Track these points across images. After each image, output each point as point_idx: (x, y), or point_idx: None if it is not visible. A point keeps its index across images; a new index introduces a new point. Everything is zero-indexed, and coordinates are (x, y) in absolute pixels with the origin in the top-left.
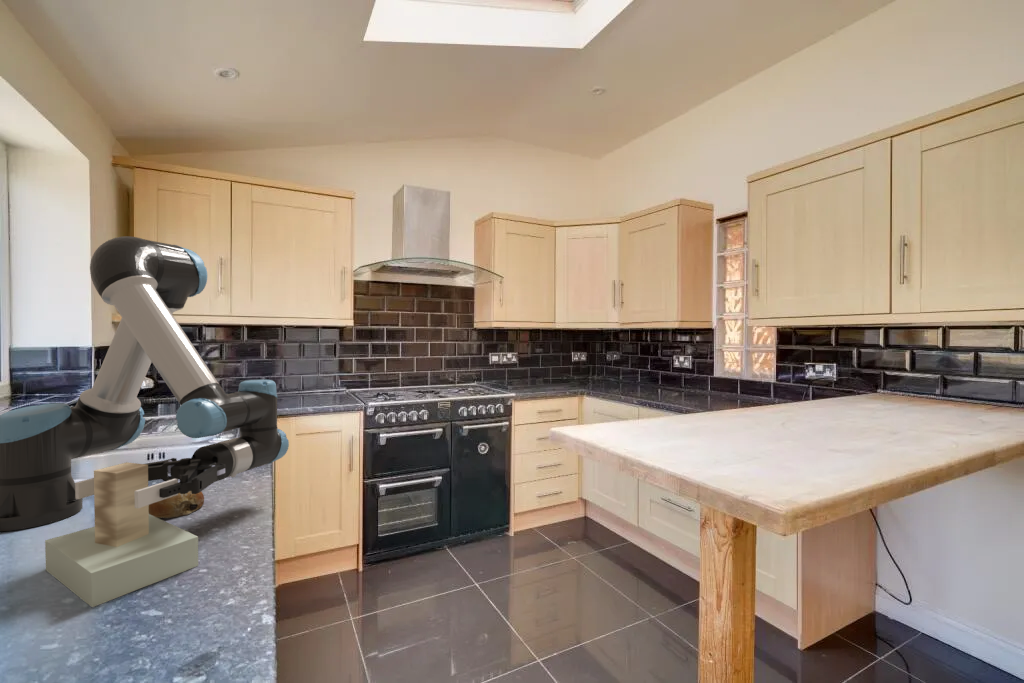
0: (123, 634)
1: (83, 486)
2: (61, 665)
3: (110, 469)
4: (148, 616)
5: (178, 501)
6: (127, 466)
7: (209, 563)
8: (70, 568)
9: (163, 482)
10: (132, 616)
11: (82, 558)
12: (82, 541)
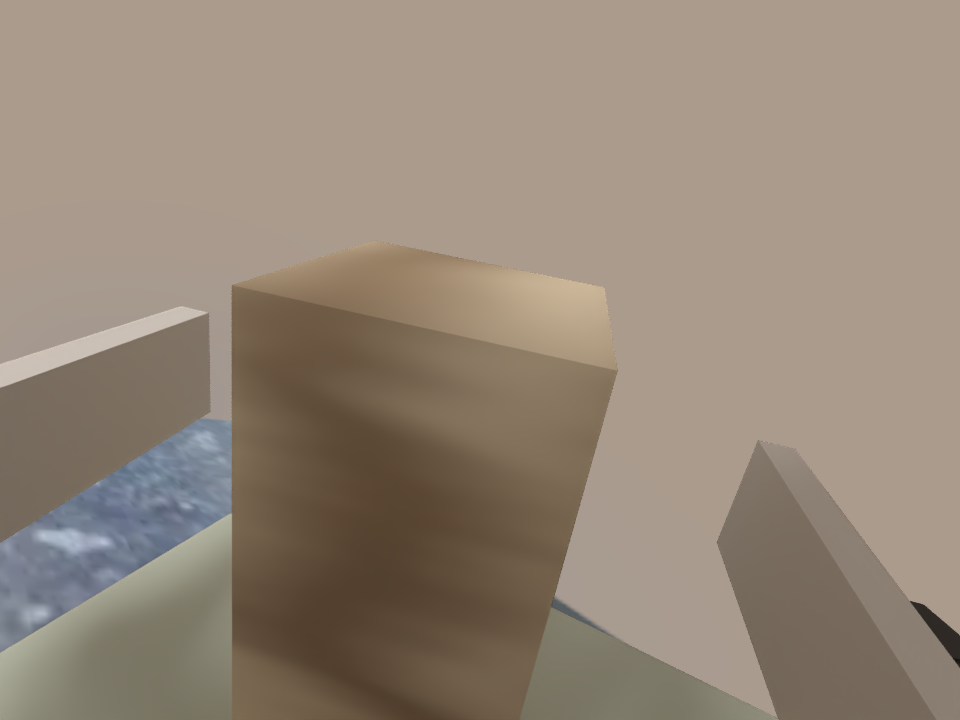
0: (129, 478)
1: (752, 487)
2: (219, 431)
3: (504, 278)
4: (81, 525)
5: None
6: (431, 290)
7: None
8: None
9: (18, 375)
10: (132, 529)
11: None
12: (587, 711)
